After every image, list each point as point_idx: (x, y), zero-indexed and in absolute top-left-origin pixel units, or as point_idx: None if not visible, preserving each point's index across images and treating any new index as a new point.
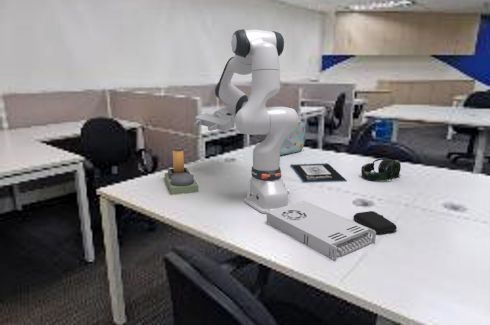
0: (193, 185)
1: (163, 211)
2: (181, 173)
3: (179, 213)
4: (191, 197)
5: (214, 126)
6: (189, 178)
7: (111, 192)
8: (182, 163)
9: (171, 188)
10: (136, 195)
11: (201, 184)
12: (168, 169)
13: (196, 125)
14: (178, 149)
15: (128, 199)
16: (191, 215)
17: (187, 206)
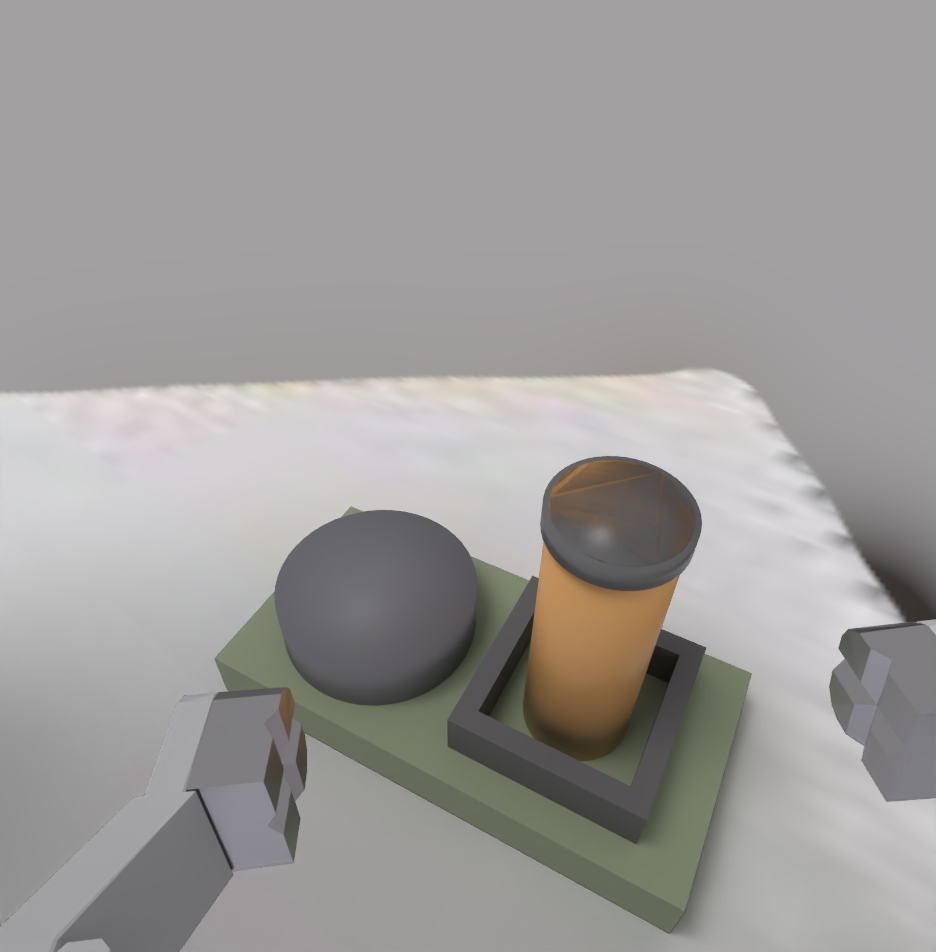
0: (252, 633)
1: (202, 408)
2: (455, 625)
3: (107, 434)
4: (199, 590)
5: (76, 863)
6: (281, 588)
7: (648, 384)
8: (534, 643)
9: (349, 509)
10: (510, 428)
11: (343, 841)
12: (688, 643)
13: (855, 674)
14: (550, 488)
15: (484, 388)
16: (29, 452)
17: (125, 499)
